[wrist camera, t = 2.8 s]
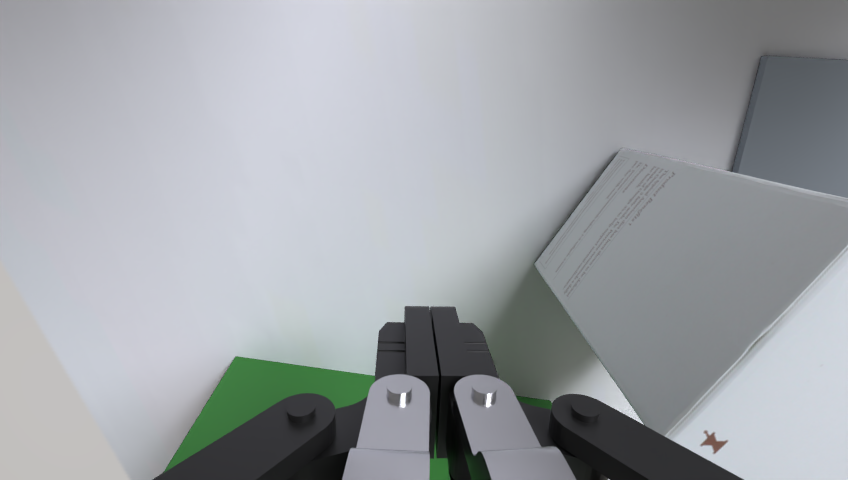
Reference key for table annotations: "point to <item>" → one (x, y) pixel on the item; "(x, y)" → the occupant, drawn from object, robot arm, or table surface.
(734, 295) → the supplement box
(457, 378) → the robot arm
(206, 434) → the hardback book
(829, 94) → the mat
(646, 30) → the table surface
